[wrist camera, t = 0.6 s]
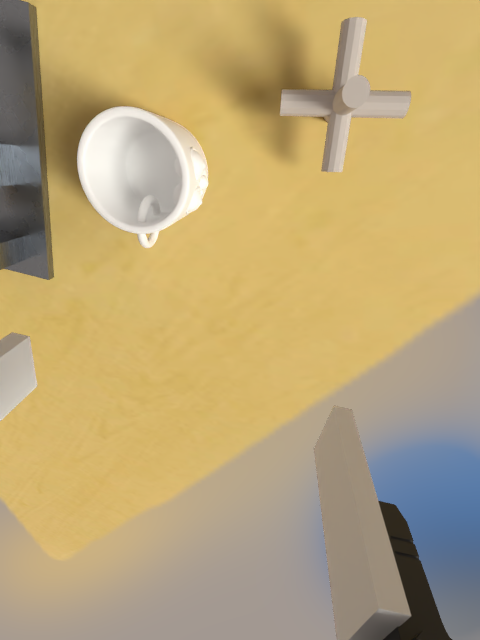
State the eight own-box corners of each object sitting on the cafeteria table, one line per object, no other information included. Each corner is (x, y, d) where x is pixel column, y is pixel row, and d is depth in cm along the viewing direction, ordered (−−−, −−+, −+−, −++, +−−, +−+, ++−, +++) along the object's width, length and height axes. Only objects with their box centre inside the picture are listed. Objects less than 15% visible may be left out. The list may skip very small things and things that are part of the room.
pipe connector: (276, 168, 32) (275, 171, 24) (285, 44, 28) (288, -9, 19) (374, 171, 32) (411, 176, 23) (400, 44, 27) (460, -11, 18)
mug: (208, 245, 37) (189, 269, 29) (124, 229, 37) (82, 248, 29) (222, 129, 31) (203, 118, 23) (123, 111, 32) (70, 94, 24)
